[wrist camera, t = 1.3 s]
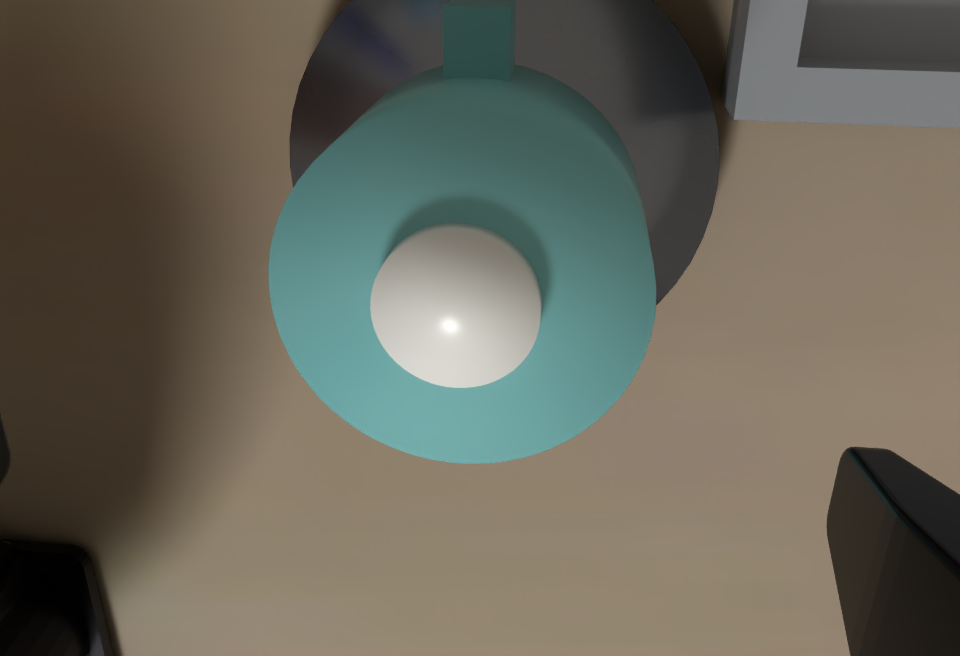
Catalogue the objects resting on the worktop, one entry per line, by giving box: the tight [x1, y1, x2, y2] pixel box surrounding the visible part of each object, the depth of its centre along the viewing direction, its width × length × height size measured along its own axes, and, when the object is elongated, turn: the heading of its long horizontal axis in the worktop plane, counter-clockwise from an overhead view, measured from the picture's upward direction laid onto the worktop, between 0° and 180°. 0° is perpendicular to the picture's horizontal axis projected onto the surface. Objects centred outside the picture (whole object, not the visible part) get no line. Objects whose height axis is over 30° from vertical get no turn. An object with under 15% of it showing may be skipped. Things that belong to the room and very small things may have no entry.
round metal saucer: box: [290, 0, 720, 305], centre depth 18 cm, size 9×9×4 cm
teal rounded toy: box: [268, 0, 656, 464], centre depth 14 cm, size 7×6×4 cm
